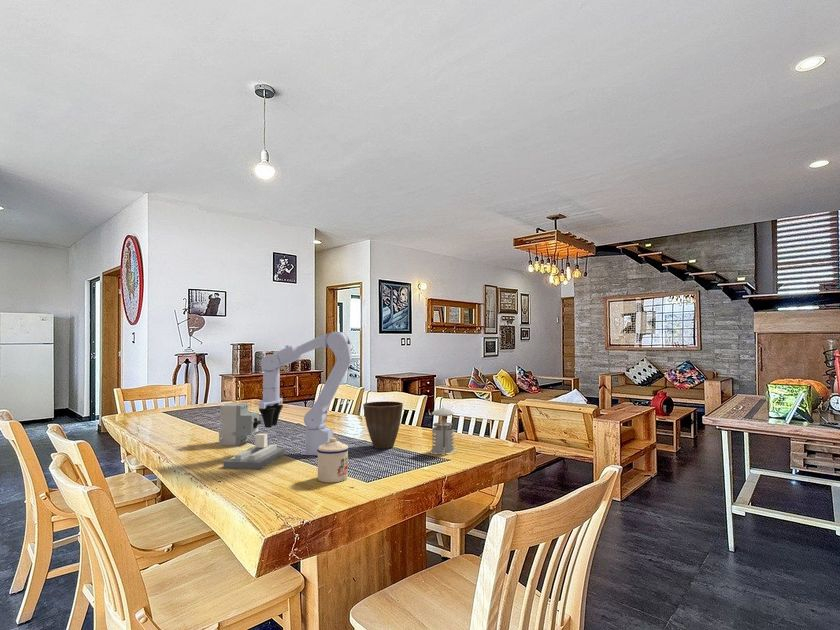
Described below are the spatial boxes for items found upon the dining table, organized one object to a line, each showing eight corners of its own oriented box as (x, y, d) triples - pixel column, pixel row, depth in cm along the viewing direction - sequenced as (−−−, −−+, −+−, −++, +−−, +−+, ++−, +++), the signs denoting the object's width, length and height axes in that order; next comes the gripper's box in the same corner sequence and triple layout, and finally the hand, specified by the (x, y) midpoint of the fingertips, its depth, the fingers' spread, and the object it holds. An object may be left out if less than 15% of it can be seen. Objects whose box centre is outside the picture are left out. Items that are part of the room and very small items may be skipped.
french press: (455, 448, 172) (454, 380, 173) (459, 456, 160) (458, 383, 161) (428, 448, 171) (428, 380, 173) (430, 456, 160) (430, 383, 161)
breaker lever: (258, 450, 160) (259, 433, 161) (267, 450, 160) (267, 433, 160) (254, 452, 158) (254, 435, 158) (263, 452, 157) (263, 435, 157)
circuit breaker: (255, 445, 178) (256, 405, 179) (218, 445, 179) (219, 405, 179) (262, 440, 186) (263, 402, 186) (227, 440, 186) (227, 403, 187)
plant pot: (357, 450, 169) (357, 406, 170) (370, 441, 184) (370, 400, 184) (396, 452, 166) (396, 407, 167) (407, 443, 180) (407, 401, 181)
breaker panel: (254, 452, 166) (254, 442, 167) (286, 453, 165) (286, 443, 165) (223, 467, 147) (223, 456, 147) (259, 469, 145) (259, 457, 145)
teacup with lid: (343, 484, 130) (343, 441, 130) (312, 482, 131) (312, 441, 132) (354, 471, 142) (354, 433, 142) (326, 470, 143) (326, 432, 143)
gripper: (270, 385, 175) (269, 422, 174) (250, 390, 160) (250, 429, 159) (287, 386, 174) (287, 422, 173) (270, 390, 159) (269, 430, 158)
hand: (270, 426), depth 166 cm, fingers open, 3 cm apart
